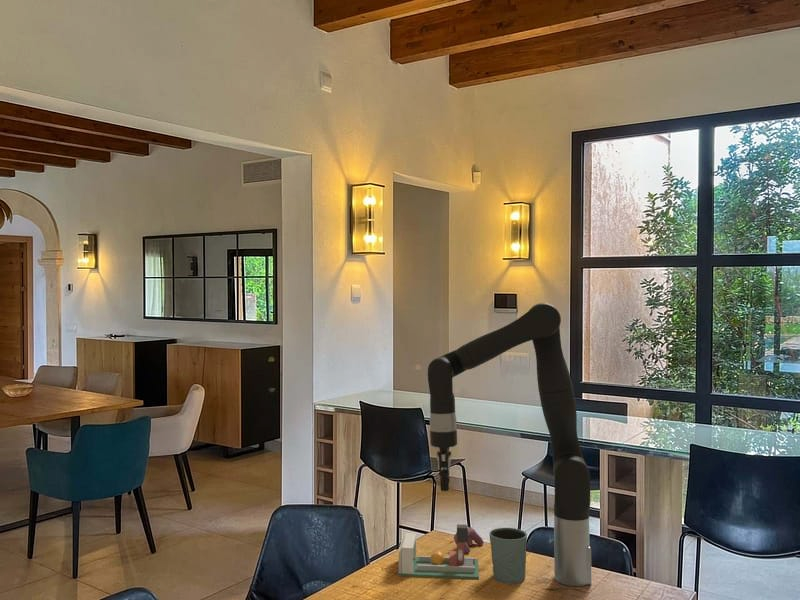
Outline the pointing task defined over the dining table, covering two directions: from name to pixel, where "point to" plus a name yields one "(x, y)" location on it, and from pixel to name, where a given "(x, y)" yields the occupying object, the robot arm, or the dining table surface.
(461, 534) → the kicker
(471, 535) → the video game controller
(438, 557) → the ball
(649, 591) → the dining table surface
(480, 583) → the dining table surface
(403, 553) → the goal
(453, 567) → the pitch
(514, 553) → the green cup
